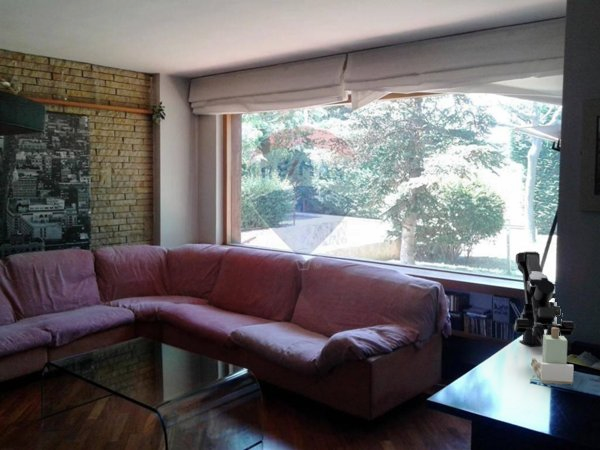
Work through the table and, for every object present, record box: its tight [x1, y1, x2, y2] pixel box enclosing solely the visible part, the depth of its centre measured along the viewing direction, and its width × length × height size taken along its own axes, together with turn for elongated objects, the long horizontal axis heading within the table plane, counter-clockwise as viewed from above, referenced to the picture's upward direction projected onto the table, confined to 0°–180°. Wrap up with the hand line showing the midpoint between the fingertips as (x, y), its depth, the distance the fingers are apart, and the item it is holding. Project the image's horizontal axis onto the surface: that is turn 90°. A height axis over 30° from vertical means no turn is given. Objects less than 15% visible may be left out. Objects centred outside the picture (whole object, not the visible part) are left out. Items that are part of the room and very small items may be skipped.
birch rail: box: [530, 357, 574, 385], centre depth 174 cm, size 17×9×2 cm, turn 167°
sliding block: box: [541, 327, 568, 364], centre depth 170 cm, size 5×6×15 cm
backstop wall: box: [541, 363, 575, 383], centre depth 167 cm, size 2×9×5 cm, turn 77°
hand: (547, 349), depth 180 cm, fingers closed
